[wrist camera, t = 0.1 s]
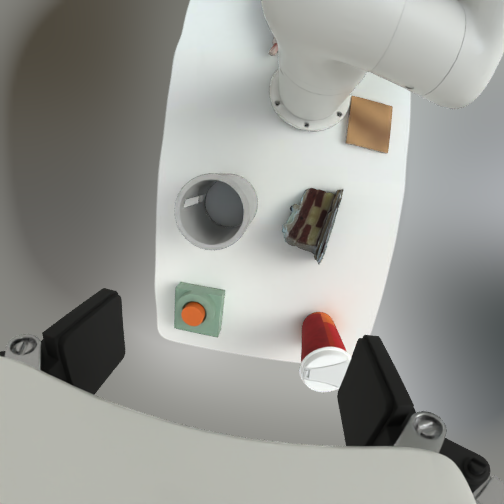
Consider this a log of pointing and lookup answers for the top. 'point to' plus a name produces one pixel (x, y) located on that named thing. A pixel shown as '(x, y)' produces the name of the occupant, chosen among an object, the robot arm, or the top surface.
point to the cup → (196, 217)
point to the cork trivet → (369, 124)
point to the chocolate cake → (312, 221)
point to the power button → (193, 314)
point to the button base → (211, 304)
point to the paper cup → (322, 354)
